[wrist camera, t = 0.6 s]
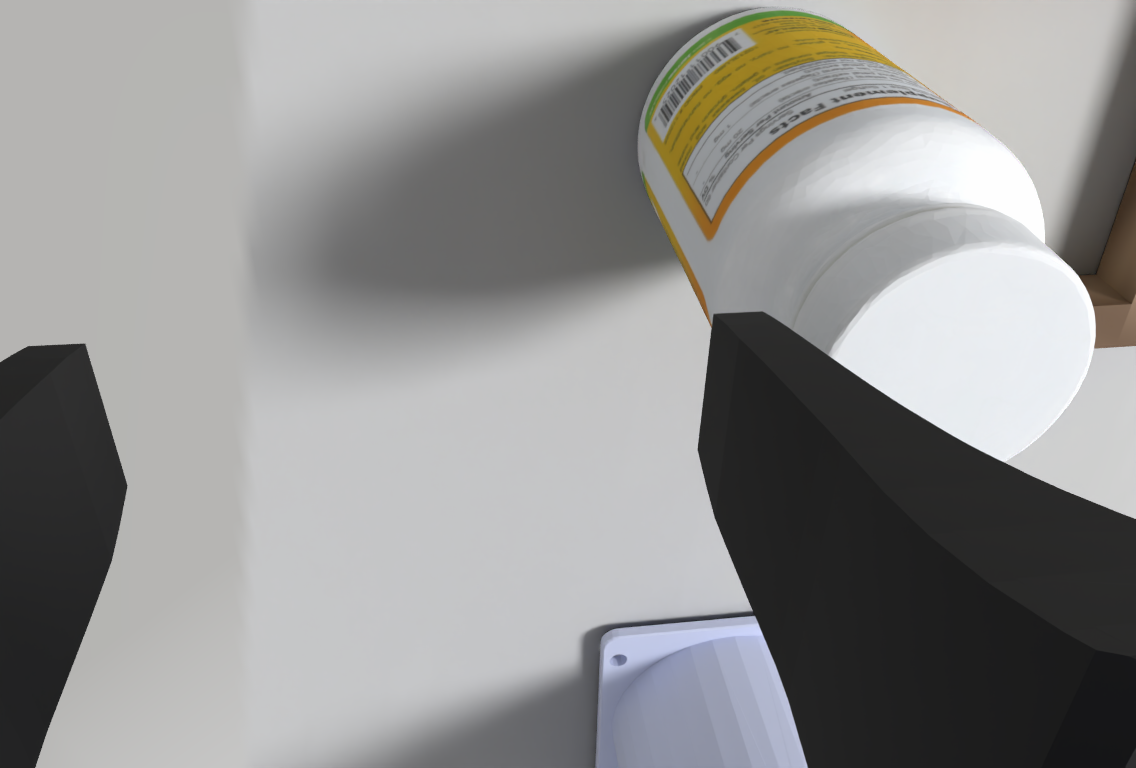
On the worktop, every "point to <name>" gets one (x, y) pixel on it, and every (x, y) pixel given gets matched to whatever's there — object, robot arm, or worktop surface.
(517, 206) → the worktop surface
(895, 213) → the supplement bottle
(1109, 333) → the walnut stop
